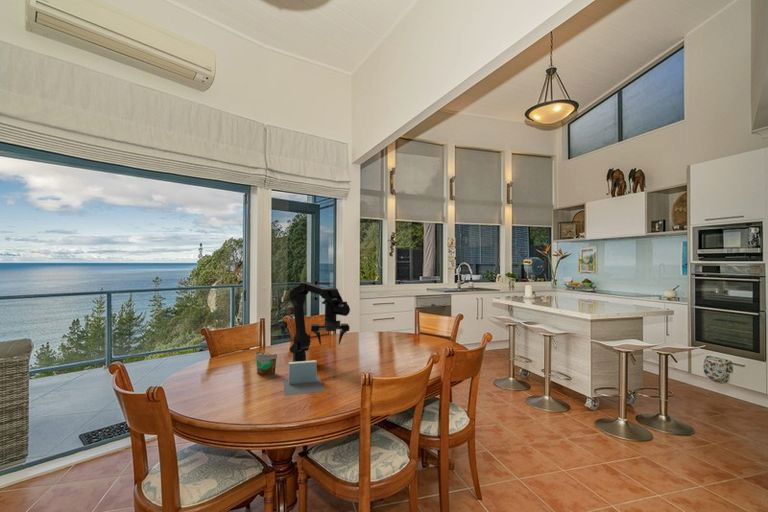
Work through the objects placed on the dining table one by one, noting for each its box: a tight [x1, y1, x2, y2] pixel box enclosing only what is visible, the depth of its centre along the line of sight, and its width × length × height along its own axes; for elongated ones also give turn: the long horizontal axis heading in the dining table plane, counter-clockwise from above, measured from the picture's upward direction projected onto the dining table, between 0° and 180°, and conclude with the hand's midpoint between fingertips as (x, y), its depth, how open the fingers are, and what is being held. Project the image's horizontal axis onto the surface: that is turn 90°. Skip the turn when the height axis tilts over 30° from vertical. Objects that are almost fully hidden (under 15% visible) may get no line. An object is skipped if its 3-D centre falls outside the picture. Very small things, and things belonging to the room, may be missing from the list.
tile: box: [288, 359, 318, 384], centre depth 155 cm, size 3×12×9 cm, turn 106°
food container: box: [254, 350, 278, 376], centre depth 167 cm, size 12×6×10 cm, turn 62°
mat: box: [283, 375, 325, 397], centre depth 152 cm, size 20×16×1 cm
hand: (329, 344), depth 173 cm, fingers open, 9 cm apart
